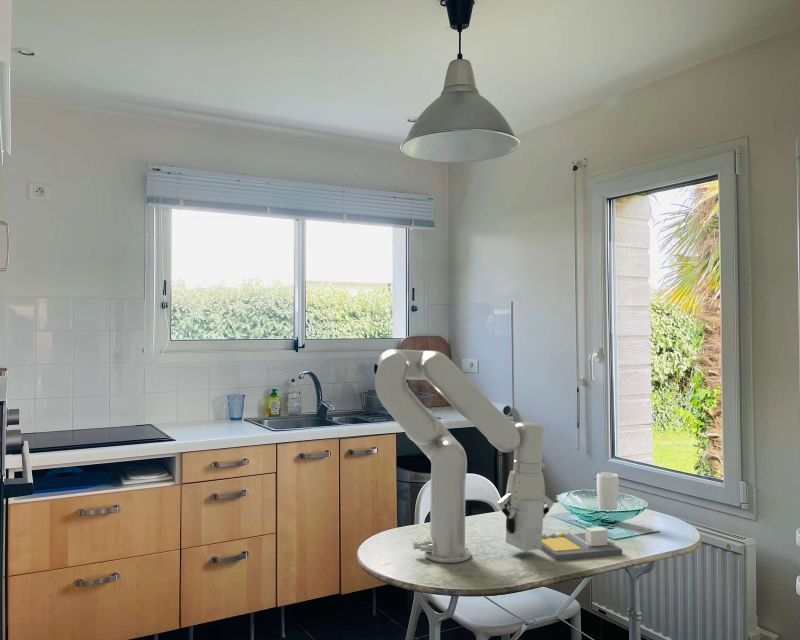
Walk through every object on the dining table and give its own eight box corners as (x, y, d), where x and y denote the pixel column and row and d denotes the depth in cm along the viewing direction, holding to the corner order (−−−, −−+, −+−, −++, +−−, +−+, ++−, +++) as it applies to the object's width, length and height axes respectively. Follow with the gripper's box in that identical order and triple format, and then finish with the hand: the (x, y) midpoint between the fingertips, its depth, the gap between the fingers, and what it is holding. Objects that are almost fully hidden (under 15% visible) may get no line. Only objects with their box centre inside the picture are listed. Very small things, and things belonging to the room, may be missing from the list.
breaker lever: (591, 546, 184) (591, 531, 184) (585, 542, 187) (585, 527, 187) (607, 545, 185) (607, 529, 185) (601, 541, 188) (601, 526, 188)
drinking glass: (610, 517, 217) (610, 471, 217) (622, 523, 211) (623, 476, 211) (592, 518, 215) (592, 472, 215) (604, 525, 209) (604, 477, 209)
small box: (542, 548, 180) (544, 501, 181) (524, 551, 177) (527, 503, 177) (522, 539, 187) (524, 493, 187) (504, 542, 184) (507, 495, 184)
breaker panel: (555, 560, 177) (555, 551, 177) (531, 542, 192) (531, 533, 192) (622, 554, 182) (622, 545, 182) (593, 537, 197) (593, 528, 197)
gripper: (549, 464, 188) (546, 526, 188) (492, 464, 184) (489, 528, 184) (562, 470, 181) (559, 535, 181) (503, 470, 177) (500, 537, 177)
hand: (524, 531), depth 182 cm, fingers closed on small box, 7 cm apart
